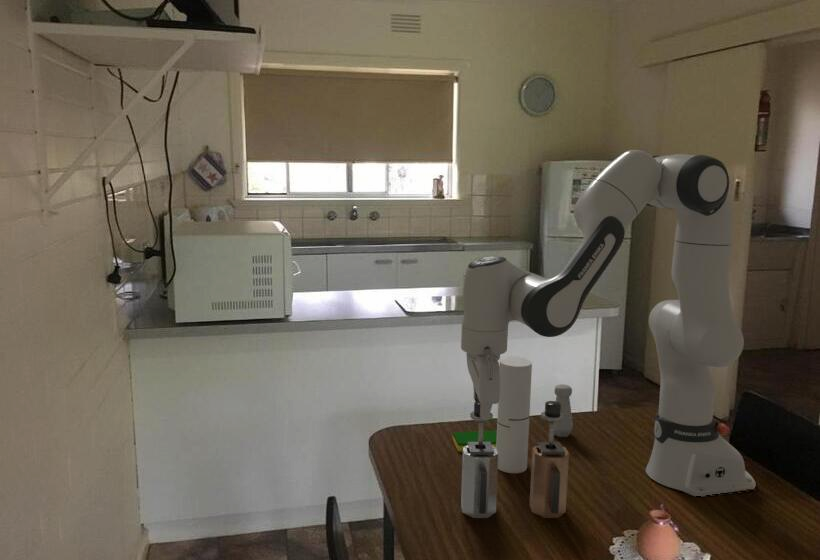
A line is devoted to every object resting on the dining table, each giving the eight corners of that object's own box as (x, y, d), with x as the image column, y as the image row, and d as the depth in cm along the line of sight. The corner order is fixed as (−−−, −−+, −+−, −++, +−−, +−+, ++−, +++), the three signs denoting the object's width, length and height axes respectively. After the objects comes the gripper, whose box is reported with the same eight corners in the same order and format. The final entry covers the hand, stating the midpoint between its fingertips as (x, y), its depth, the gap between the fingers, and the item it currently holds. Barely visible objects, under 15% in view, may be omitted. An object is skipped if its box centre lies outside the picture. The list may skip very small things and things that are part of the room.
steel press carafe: (492, 500, 137) (494, 439, 135) (499, 524, 128) (502, 459, 126) (460, 500, 137) (461, 439, 135) (464, 524, 128) (466, 459, 126)
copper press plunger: (558, 457, 135) (561, 399, 132) (563, 467, 130) (567, 407, 128) (536, 457, 134) (539, 399, 132) (541, 467, 130) (544, 407, 128)
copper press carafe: (559, 500, 138) (563, 439, 135) (571, 524, 129) (575, 459, 126) (527, 500, 137) (530, 439, 135) (536, 524, 128) (540, 459, 126)
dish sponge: (452, 440, 167) (452, 431, 167) (505, 438, 169) (506, 429, 168) (458, 453, 160) (458, 443, 160) (513, 450, 162) (514, 441, 161)
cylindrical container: (526, 474, 149) (531, 367, 144) (494, 471, 150) (498, 365, 145) (527, 460, 155) (532, 358, 151) (496, 457, 157) (500, 355, 152)
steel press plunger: (489, 457, 134) (491, 399, 132) (492, 467, 130) (494, 407, 128) (467, 457, 134) (469, 399, 132) (470, 467, 130) (472, 407, 127)
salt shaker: (575, 432, 172) (578, 385, 169) (568, 440, 167) (571, 391, 165) (553, 427, 175) (556, 380, 172) (546, 435, 170) (548, 386, 168)
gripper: (509, 357, 117) (506, 430, 120) (492, 327, 137) (490, 391, 140) (474, 356, 117) (471, 430, 120) (462, 327, 137) (460, 391, 140)
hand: (481, 409), depth 130 cm, fingers open, 8 cm apart
